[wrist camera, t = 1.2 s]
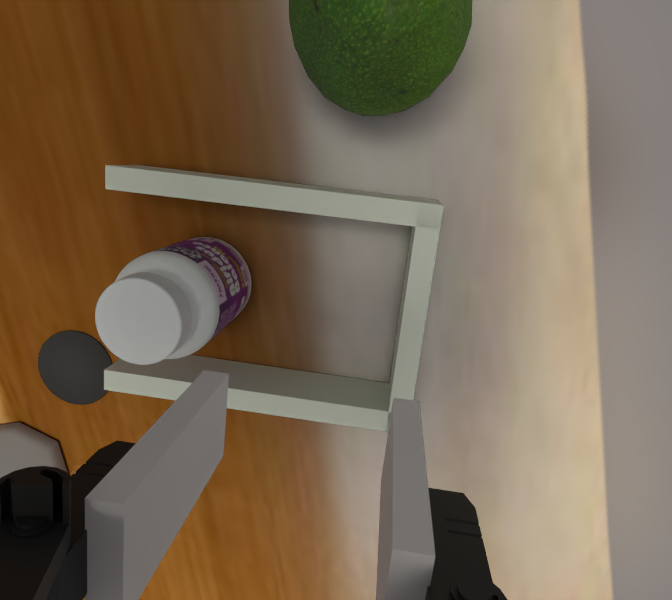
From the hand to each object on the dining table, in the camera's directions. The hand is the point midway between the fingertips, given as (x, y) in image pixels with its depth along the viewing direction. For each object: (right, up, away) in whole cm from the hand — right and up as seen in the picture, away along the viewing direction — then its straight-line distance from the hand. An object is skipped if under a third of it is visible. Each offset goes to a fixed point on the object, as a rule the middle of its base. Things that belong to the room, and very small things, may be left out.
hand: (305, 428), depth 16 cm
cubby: (-3, +5, +17) cm, 17 cm away
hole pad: (-16, -1, +19) cm, 25 cm away
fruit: (+3, +17, +13) cm, 22 cm away
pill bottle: (-7, +5, +17) cm, 19 cm away
